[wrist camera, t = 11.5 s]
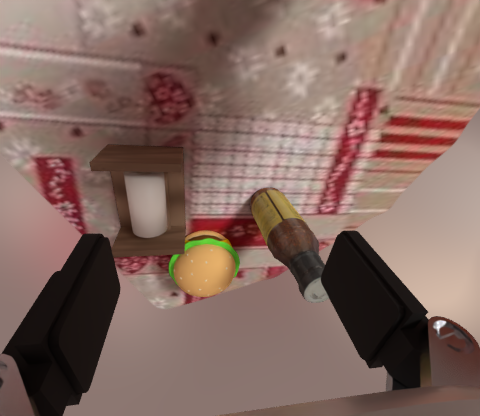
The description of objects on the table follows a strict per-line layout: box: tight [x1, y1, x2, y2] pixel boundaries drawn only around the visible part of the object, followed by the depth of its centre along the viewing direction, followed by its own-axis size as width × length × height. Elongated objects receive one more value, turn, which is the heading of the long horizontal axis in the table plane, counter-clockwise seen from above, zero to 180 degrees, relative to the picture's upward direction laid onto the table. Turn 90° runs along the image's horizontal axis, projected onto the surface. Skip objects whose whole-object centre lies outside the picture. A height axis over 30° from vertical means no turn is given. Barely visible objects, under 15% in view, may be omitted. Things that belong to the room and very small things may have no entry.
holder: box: [90, 145, 186, 257], centre depth 35 cm, size 14×10×7 cm
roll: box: [124, 171, 168, 238], centre depth 34 cm, size 9×5×5 cm, turn 175°
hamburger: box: [169, 230, 240, 297], centre depth 42 cm, size 12×12×9 cm
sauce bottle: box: [250, 188, 329, 303], centre depth 34 cm, size 7×6×20 cm
